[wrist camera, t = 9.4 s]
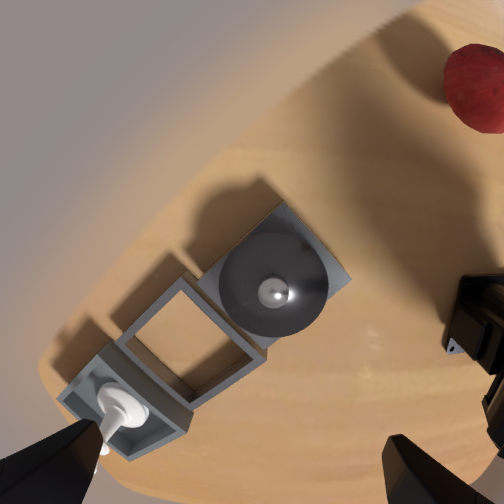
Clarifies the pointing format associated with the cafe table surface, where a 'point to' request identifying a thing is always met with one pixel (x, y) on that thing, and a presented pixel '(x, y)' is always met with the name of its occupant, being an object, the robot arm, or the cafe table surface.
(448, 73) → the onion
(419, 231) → the cafe table surface
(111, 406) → the chess piece
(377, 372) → the cafe table surface
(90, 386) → the tray
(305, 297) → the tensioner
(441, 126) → the cafe table surface
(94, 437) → the robot arm
